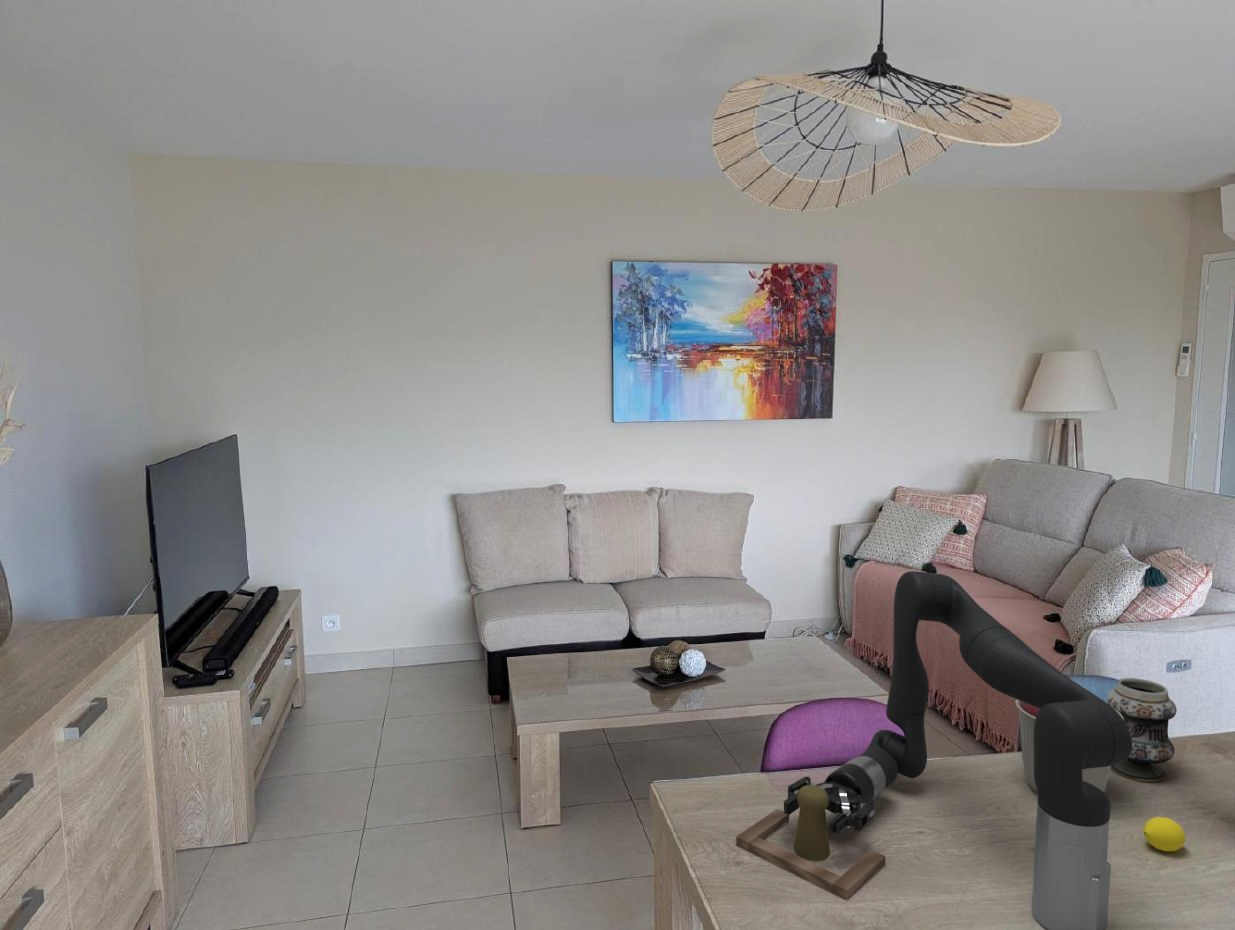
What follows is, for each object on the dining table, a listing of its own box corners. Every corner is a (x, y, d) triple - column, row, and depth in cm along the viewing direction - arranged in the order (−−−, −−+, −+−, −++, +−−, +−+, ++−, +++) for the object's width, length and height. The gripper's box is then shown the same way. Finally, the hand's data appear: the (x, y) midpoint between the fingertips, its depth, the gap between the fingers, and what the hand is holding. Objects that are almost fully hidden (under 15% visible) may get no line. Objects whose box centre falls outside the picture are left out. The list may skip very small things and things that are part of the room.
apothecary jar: (1171, 765, 166) (1177, 681, 164) (1173, 791, 156) (1180, 701, 154) (1102, 751, 172) (1107, 669, 170) (1100, 775, 162) (1106, 689, 160)
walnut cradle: (885, 864, 133) (885, 856, 133) (846, 899, 125) (847, 890, 125) (777, 816, 148) (777, 808, 148) (736, 844, 139) (736, 836, 139)
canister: (1023, 809, 150) (1029, 700, 147) (1002, 764, 167) (1007, 665, 165) (1133, 822, 146) (1141, 709, 143) (1099, 773, 163) (1106, 672, 161)
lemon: (1167, 841, 140) (1174, 812, 140) (1192, 860, 135) (1198, 829, 134) (1130, 838, 140) (1136, 809, 139) (1153, 857, 134) (1159, 826, 134)
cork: (830, 863, 134) (832, 800, 133) (793, 858, 135) (794, 796, 134) (829, 842, 140) (830, 782, 139) (793, 838, 141) (794, 778, 140)
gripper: (821, 751, 151) (772, 782, 140) (894, 777, 141) (847, 813, 130) (820, 789, 152) (771, 823, 141) (892, 818, 142) (845, 857, 131)
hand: (807, 819), depth 135 cm, fingers open, 8 cm apart
